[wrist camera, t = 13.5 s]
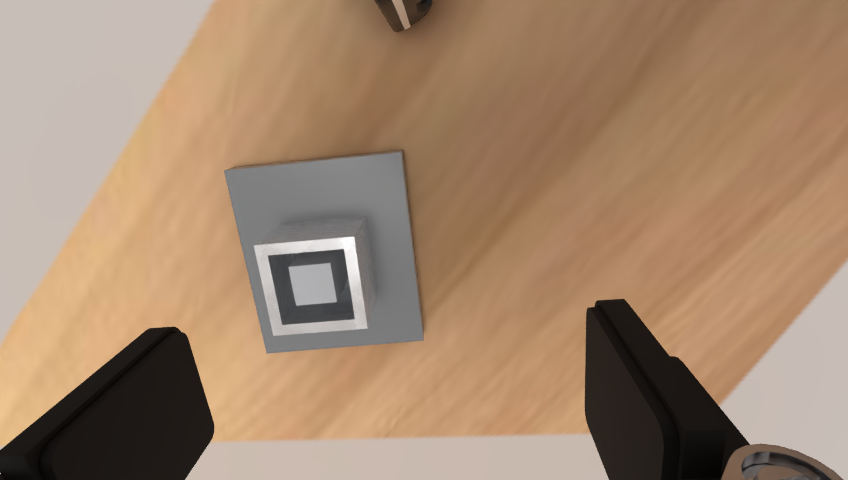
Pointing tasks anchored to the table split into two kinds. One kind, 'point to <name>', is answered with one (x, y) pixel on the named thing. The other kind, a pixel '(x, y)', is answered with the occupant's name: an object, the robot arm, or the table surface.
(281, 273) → the collar
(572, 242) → the table surface
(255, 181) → the stand
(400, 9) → the battery charger
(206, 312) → the table surface
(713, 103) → the table surface
